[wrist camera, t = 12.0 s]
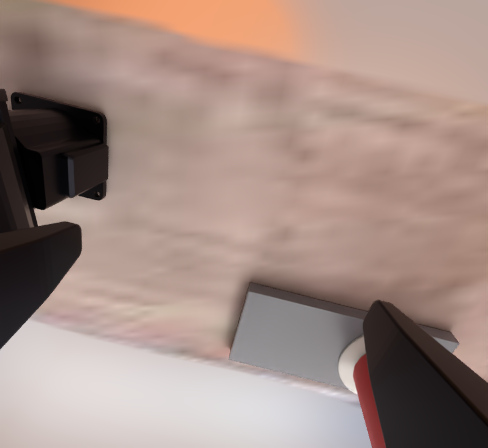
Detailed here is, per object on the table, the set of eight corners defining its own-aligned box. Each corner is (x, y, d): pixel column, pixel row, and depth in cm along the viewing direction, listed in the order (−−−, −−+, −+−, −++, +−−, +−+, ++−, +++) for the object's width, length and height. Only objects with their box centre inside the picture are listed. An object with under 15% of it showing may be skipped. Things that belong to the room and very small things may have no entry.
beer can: (446, 371, 24) (581, 593, 14) (380, 401, 27) (450, 610, 16) (400, 328, 23) (511, 537, 12) (335, 363, 25) (379, 565, 15)
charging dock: (230, 351, 28) (227, 364, 27) (250, 280, 24) (249, 291, 23) (409, 395, 28) (415, 410, 27) (458, 331, 24) (469, 346, 23)
